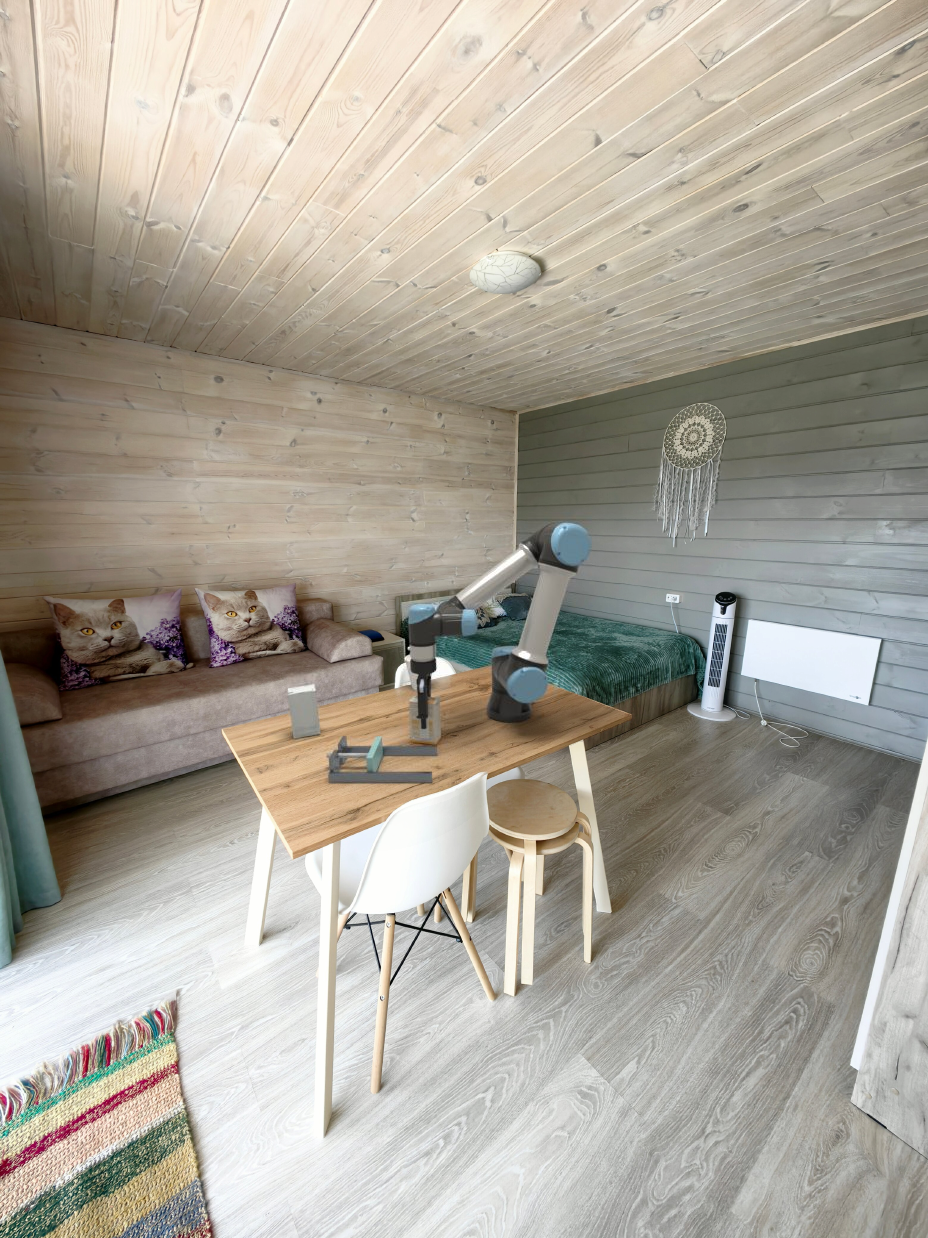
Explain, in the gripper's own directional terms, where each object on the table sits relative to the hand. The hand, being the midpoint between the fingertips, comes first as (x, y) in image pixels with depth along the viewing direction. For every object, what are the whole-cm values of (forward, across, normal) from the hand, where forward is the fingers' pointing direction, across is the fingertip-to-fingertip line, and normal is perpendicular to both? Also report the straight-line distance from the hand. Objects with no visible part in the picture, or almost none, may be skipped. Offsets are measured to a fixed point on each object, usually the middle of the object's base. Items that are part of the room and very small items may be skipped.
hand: (425, 732), depth 142 cm
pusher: (+2, +16, -18) cm, 24 cm away
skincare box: (+3, -5, -38) cm, 38 cm away
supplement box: (+3, 0, 0) cm, 3 cm away
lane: (+2, +16, -9) cm, 19 cm away
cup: (+3, -46, -7) cm, 47 cm away
